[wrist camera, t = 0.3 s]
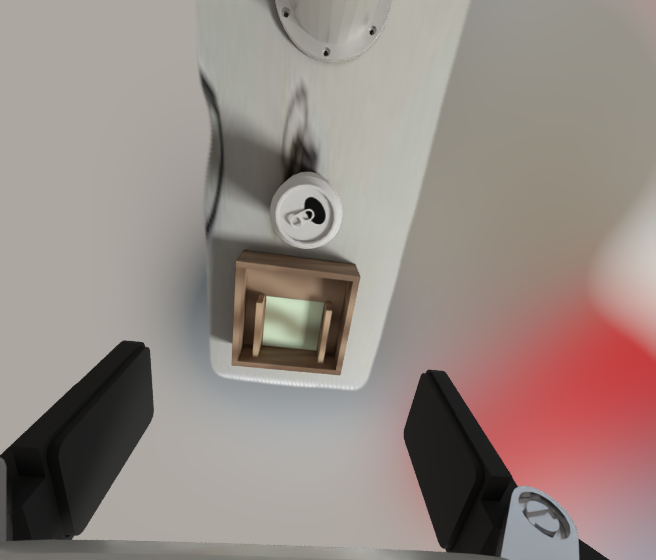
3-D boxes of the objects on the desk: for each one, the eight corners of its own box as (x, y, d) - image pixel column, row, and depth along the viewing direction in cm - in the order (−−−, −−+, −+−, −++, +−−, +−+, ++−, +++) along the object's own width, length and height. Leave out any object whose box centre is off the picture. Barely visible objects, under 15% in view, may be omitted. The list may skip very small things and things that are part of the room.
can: (345, 212, 42) (356, 232, 31) (297, 237, 43) (292, 265, 32) (318, 160, 39) (321, 161, 28) (268, 188, 40) (252, 201, 29)
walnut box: (244, 249, 43) (236, 261, 39) (355, 264, 45) (360, 276, 40) (239, 345, 49) (231, 365, 44) (337, 355, 51) (340, 375, 46)
